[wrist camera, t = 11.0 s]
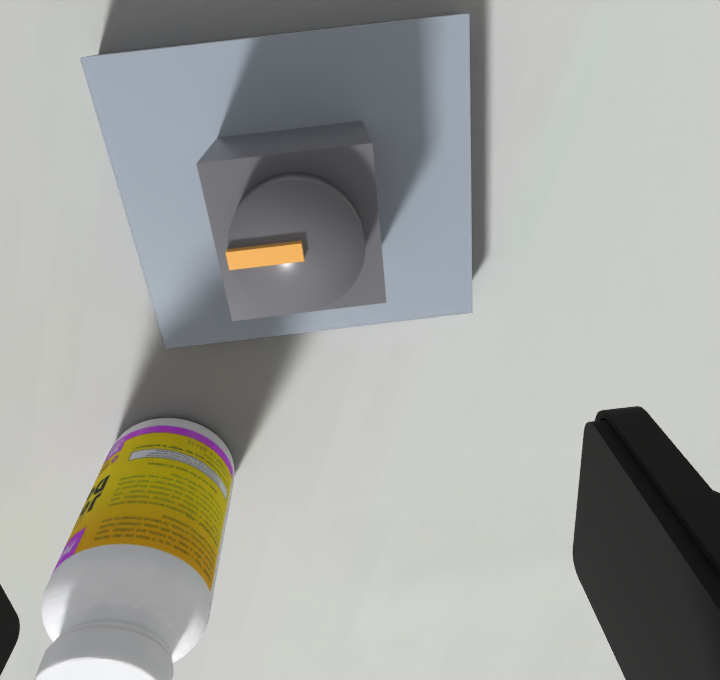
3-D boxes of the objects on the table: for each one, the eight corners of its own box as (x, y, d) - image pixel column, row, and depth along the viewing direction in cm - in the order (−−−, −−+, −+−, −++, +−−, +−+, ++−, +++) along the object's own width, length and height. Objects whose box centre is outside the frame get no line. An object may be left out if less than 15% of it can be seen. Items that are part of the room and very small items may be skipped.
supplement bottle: (118, 400, 31) (3, 625, 19) (247, 425, 32) (209, 650, 21) (105, 496, 33) (-2, 740, 22) (223, 516, 35) (179, 757, 23)
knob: (362, 120, 23) (377, 152, 18) (375, 257, 26) (390, 321, 20) (217, 137, 23) (187, 174, 18) (245, 273, 26) (226, 340, 20)
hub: (457, 13, 23) (490, 13, 19) (462, 294, 29) (489, 344, 25) (98, 54, 23) (46, 63, 19) (174, 328, 29) (149, 385, 24)
